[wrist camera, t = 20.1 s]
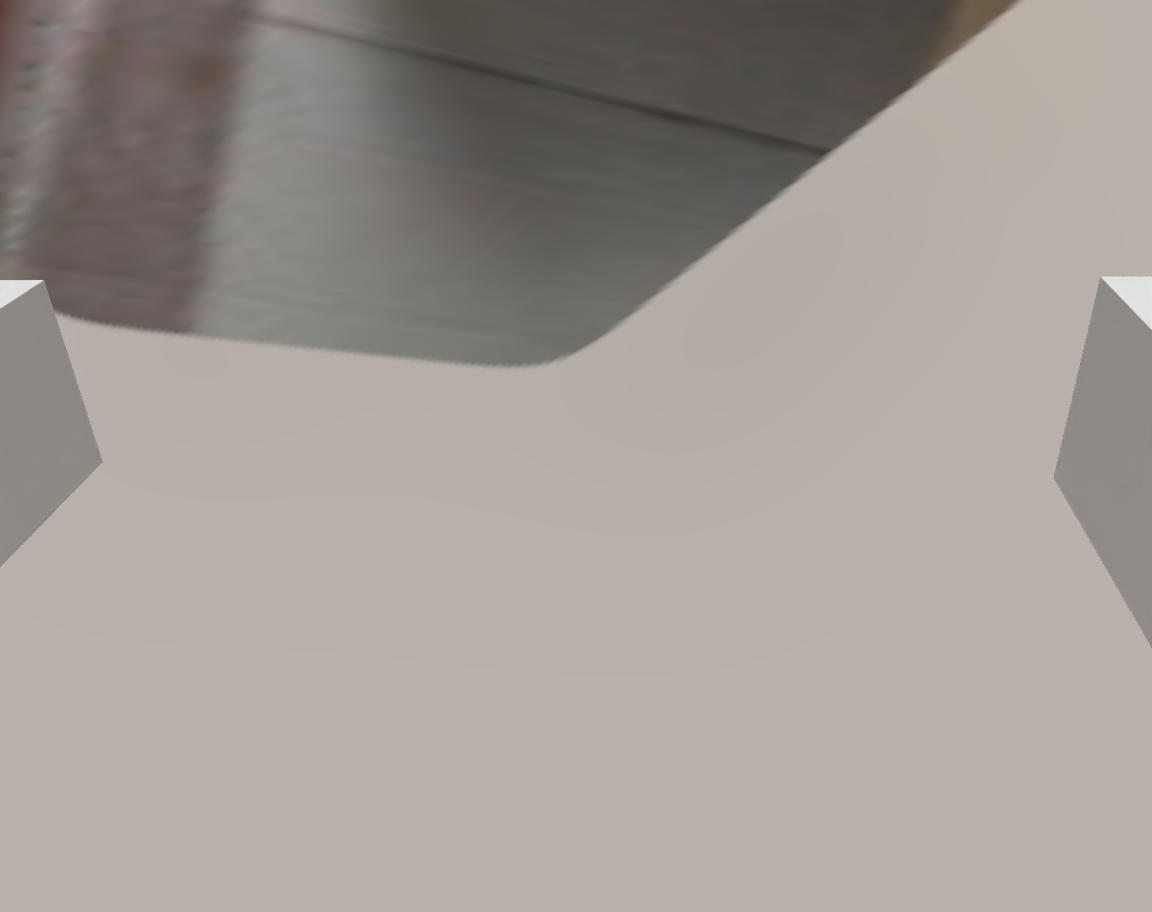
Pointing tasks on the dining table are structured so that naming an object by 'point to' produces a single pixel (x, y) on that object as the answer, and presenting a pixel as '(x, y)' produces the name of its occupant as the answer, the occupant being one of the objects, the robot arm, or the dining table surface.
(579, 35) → the dining table surface
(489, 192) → the dining table surface
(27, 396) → the robot arm
